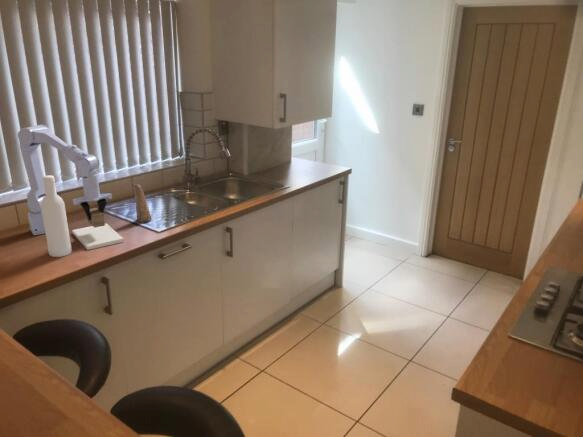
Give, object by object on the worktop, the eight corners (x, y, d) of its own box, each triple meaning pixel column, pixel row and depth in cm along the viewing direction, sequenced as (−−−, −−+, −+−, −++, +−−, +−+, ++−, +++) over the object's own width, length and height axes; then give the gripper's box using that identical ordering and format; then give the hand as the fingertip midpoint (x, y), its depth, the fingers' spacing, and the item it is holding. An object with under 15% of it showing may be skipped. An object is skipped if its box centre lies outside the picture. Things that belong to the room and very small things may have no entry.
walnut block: (87, 221, 193) (86, 209, 192) (97, 219, 196) (96, 207, 194) (94, 227, 187) (93, 215, 185) (104, 225, 189) (103, 213, 187)
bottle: (53, 248, 182) (41, 173, 172) (75, 248, 183) (63, 173, 173) (45, 257, 175) (31, 179, 164) (67, 257, 175) (55, 179, 165)
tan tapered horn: (138, 220, 216) (137, 225, 210) (128, 183, 209) (126, 187, 203) (152, 217, 217) (151, 222, 211) (142, 180, 209) (141, 184, 204)
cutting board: (87, 250, 182) (87, 246, 181) (72, 233, 197) (72, 230, 197) (123, 241, 190) (123, 238, 189) (106, 226, 205) (106, 223, 205)
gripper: (74, 191, 179) (79, 224, 184) (113, 185, 187) (116, 217, 192) (69, 187, 184) (74, 219, 189) (107, 181, 193) (110, 212, 197)
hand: (95, 218), depth 191 cm, fingers closed on walnut block, 4 cm apart
